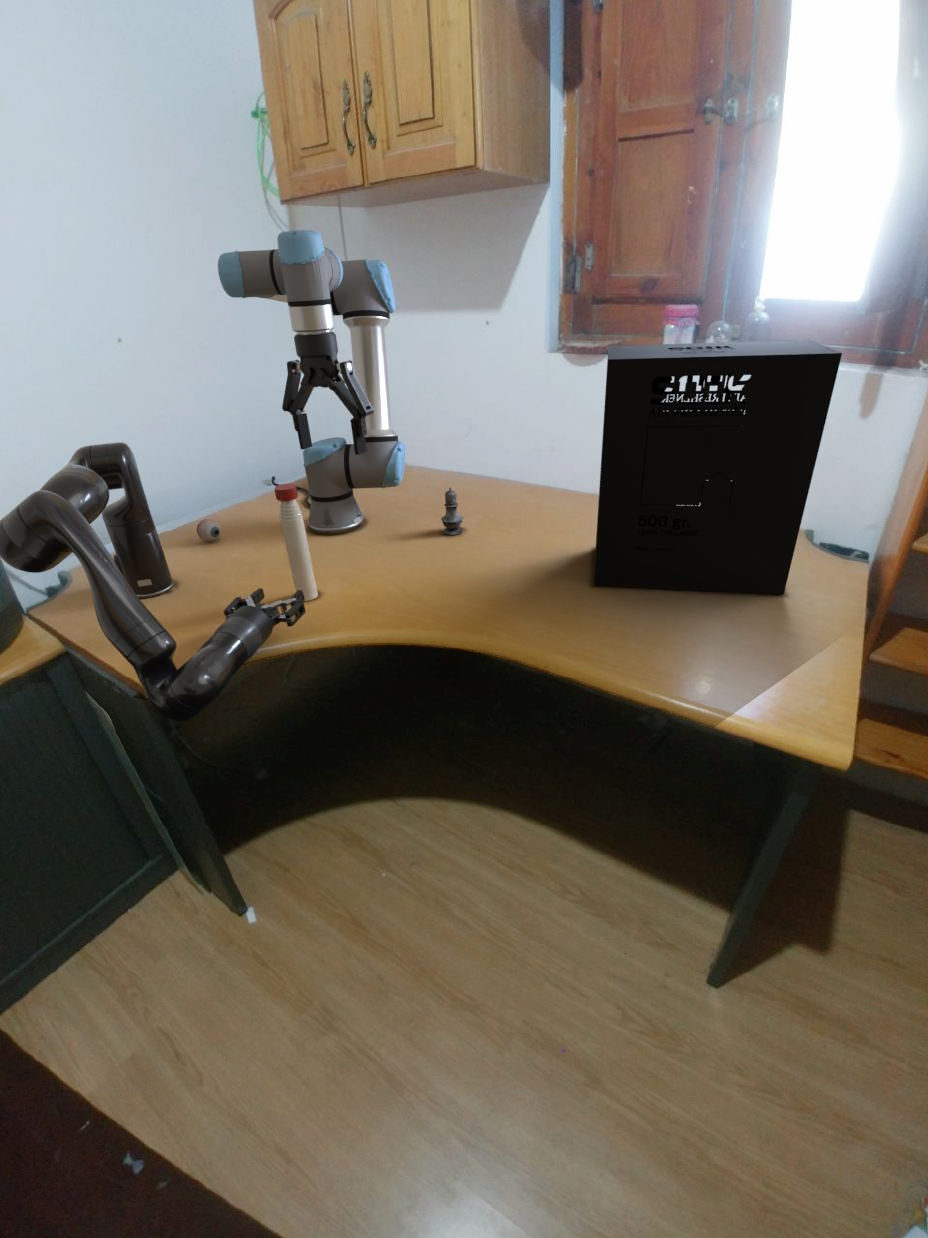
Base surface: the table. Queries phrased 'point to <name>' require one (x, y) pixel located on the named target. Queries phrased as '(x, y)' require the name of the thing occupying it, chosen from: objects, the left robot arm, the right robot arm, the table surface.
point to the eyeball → (208, 530)
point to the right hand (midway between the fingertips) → (333, 450)
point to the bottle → (298, 549)
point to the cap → (286, 492)
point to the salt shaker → (451, 515)
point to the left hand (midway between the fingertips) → (281, 593)
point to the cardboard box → (709, 463)
